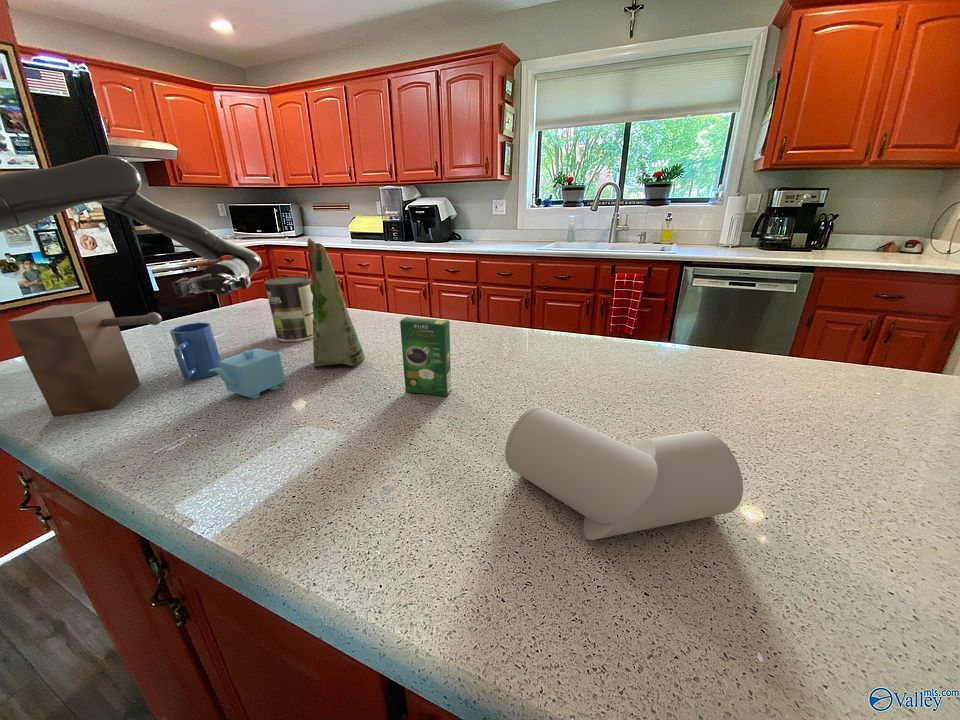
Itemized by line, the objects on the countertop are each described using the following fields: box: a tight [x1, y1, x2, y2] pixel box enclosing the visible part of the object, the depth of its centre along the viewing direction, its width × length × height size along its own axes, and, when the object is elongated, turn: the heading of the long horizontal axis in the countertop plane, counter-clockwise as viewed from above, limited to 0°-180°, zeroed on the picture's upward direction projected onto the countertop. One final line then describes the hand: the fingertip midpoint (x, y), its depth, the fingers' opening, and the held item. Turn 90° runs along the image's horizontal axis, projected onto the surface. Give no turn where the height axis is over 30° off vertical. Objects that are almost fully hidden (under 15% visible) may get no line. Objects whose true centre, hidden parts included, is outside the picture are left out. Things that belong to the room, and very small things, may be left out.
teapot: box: [209, 347, 286, 400], centre depth 69 cm, size 12×6×8 cm, turn 153°
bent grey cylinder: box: [504, 406, 744, 541], centre depth 43 cm, size 18×11×20 cm
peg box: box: [6, 300, 163, 417], centre depth 67 cm, size 16×10×16 cm, turn 107°
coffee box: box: [399, 316, 452, 397], centre depth 67 cm, size 8×3×13 cm, turn 76°
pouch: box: [306, 237, 366, 368], centre depth 78 cm, size 11×12×25 cm
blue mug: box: [169, 322, 222, 381], centre depth 75 cm, size 11×6×10 cm, turn 17°
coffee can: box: [263, 275, 314, 343], centre depth 97 cm, size 10×10×14 cm
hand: (203, 290), depth 84 cm, fingers open, 8 cm apart
